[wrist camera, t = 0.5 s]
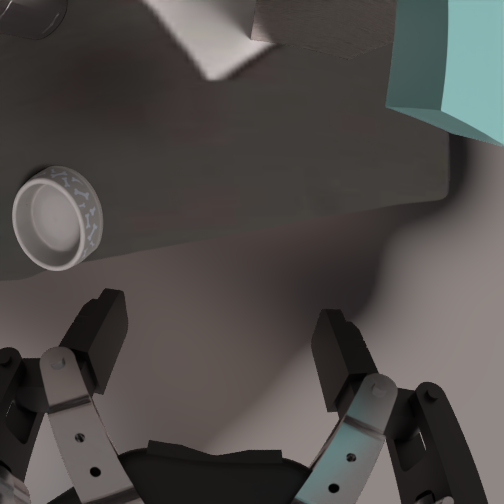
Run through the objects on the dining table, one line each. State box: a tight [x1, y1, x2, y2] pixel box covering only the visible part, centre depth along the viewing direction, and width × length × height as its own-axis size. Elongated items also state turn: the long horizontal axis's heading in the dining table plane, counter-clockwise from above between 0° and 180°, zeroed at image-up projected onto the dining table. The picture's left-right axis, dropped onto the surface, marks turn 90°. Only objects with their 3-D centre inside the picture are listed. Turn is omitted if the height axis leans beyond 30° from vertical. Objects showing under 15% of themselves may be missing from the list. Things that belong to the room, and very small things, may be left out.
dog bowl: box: [12, 166, 103, 271], centre depth 41 cm, size 17×18×5 cm
